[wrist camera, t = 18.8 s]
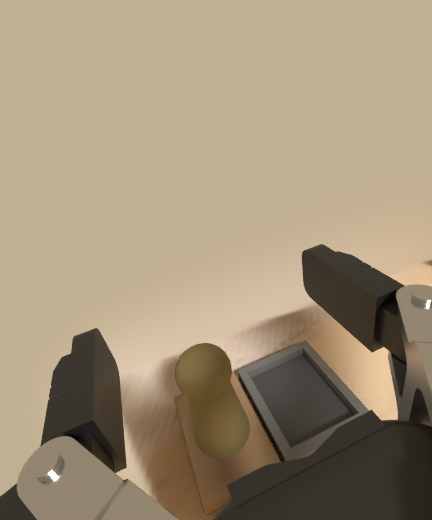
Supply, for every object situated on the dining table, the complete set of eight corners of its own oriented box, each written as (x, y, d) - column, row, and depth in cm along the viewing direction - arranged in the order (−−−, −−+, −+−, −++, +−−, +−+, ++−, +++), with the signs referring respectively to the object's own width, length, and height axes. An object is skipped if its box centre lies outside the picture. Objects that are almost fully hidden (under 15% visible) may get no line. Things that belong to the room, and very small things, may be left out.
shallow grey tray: (305, 348, 41) (305, 340, 40) (373, 425, 31) (374, 417, 30) (239, 377, 39) (237, 370, 38) (288, 471, 29) (287, 463, 28)
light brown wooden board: (235, 379, 39) (233, 371, 38) (284, 473, 29) (282, 465, 28) (177, 405, 37) (174, 398, 37) (206, 514, 27) (203, 507, 27)
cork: (199, 467, 29) (168, 396, 24) (191, 411, 35) (164, 344, 29) (257, 447, 30) (240, 374, 25) (241, 396, 35) (224, 326, 30)
